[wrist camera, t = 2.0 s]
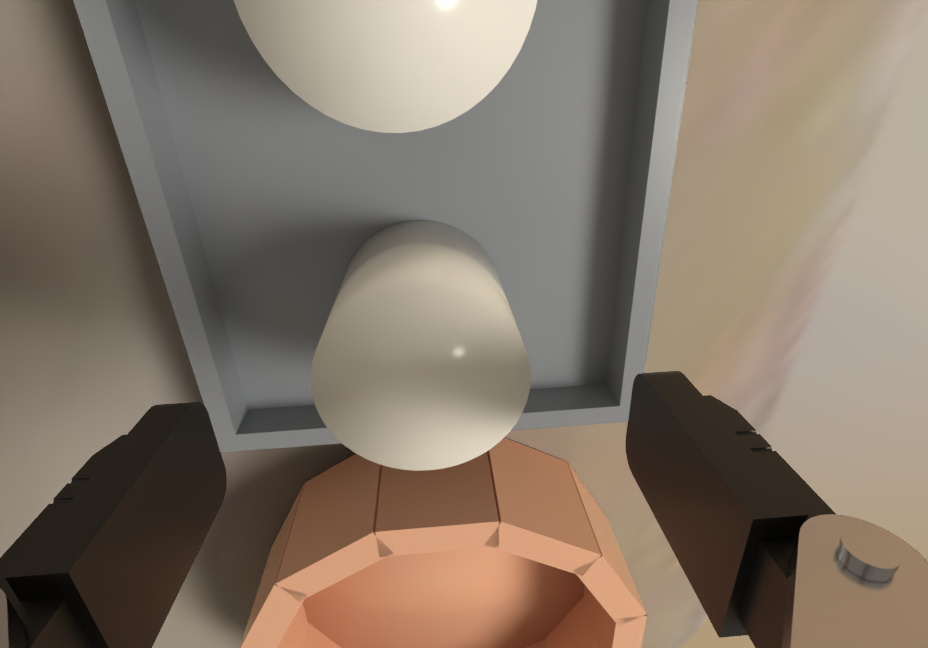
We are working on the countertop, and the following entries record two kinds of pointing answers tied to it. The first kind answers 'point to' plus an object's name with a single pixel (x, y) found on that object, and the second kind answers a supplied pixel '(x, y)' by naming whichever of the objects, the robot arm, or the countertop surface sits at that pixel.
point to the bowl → (447, 560)
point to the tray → (399, 198)
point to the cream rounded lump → (420, 351)
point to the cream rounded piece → (389, 55)
